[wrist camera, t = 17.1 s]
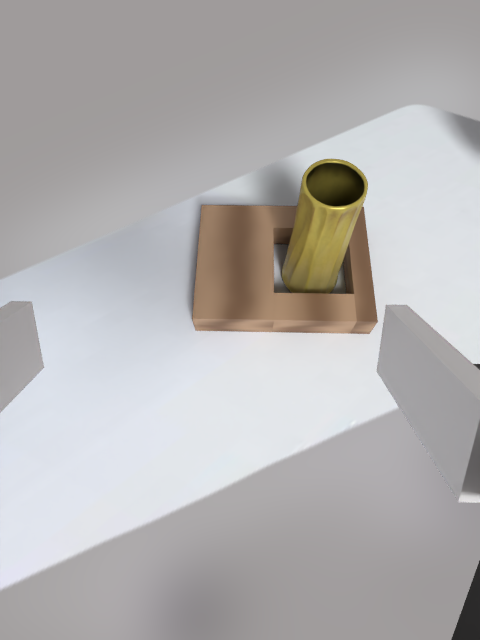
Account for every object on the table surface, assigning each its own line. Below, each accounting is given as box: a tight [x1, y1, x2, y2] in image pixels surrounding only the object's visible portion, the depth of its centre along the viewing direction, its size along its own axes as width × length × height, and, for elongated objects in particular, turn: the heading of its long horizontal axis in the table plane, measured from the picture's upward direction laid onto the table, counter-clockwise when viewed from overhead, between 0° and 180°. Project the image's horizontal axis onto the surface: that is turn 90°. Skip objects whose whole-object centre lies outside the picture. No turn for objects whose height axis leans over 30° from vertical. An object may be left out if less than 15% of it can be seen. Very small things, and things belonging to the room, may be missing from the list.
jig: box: [192, 205, 378, 334], centre depth 44 cm, size 18×14×3 cm
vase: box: [282, 159, 368, 294], centre depth 39 cm, size 6×6×14 cm
